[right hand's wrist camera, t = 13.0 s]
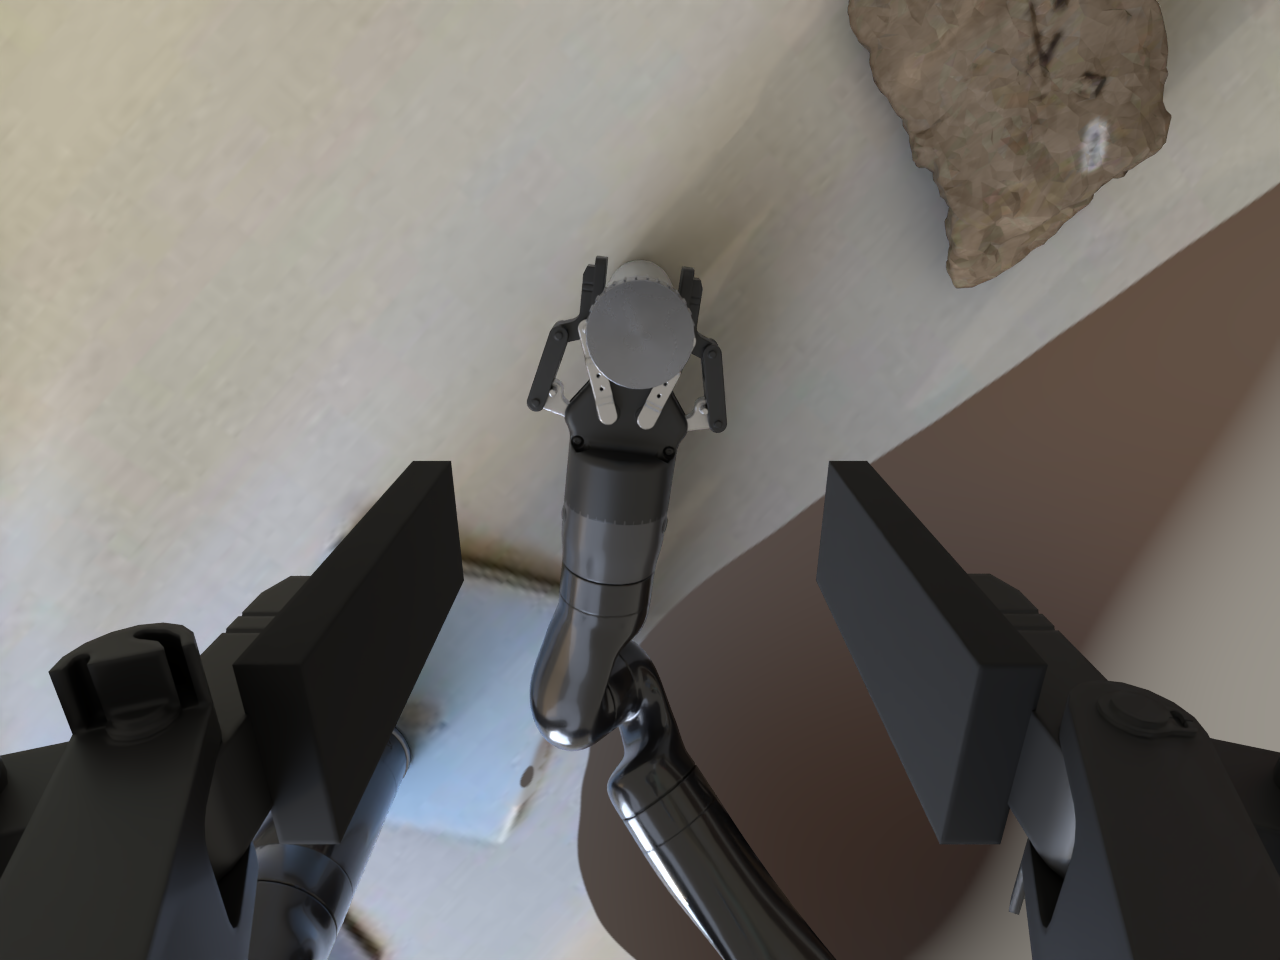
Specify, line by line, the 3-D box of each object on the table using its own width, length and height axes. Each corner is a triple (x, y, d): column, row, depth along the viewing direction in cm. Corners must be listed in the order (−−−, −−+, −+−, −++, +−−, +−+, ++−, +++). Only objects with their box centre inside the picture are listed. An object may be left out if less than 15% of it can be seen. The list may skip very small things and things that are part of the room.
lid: (600, 262, 35) (597, 266, 33) (704, 289, 36) (709, 294, 33) (577, 366, 37) (573, 376, 35) (677, 390, 38) (679, 401, 35)
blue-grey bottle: (615, 252, 49) (603, 274, 34) (680, 269, 50) (699, 298, 34) (600, 318, 51) (582, 369, 35) (663, 334, 52) (674, 391, 36)
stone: (1186, 182, 45) (1233, 176, 39) (952, 292, 50) (964, 299, 45) (1070, -152, 41) (1104, -210, 35) (833, 8, 47) (831, -21, 41)
